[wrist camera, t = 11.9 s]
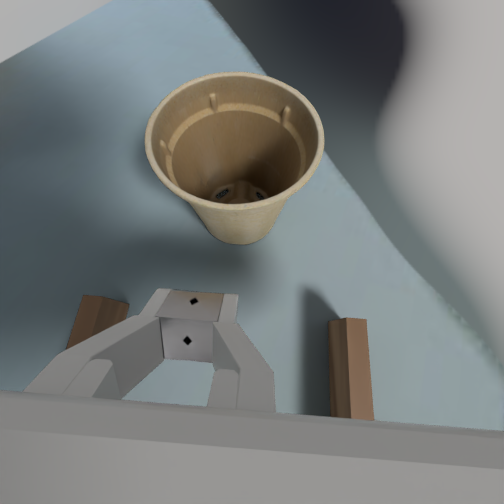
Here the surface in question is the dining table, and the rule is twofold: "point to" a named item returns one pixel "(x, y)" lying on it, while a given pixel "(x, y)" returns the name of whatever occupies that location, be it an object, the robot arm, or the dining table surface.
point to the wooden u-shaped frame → (340, 353)
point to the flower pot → (235, 149)
